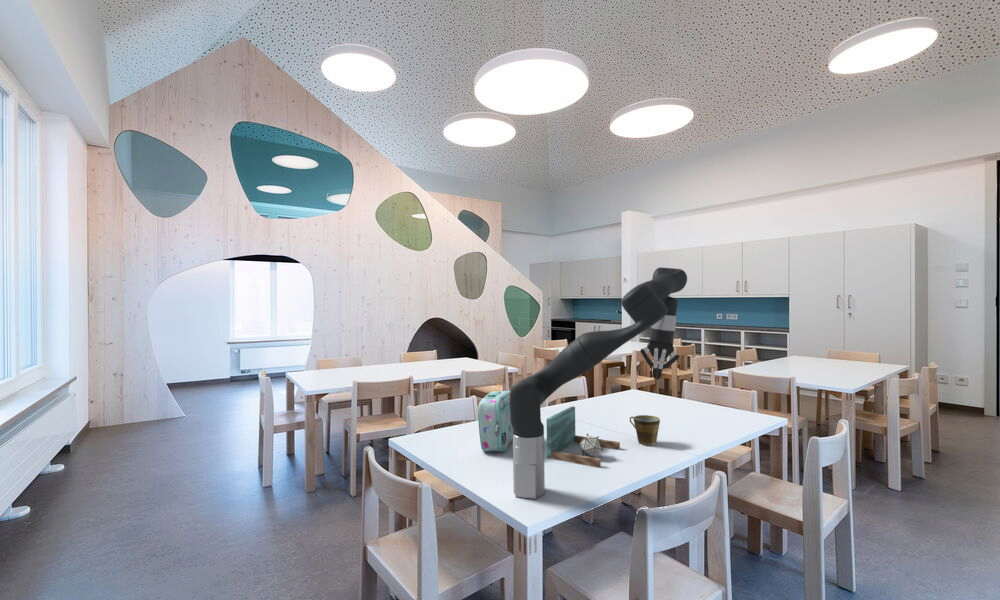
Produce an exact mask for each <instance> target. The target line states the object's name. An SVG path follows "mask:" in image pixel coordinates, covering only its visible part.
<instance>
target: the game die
mask: <svg viewBox="0 0 1000 600" xmlns="http://www.w3.org/2000/svg"><path fill="white" fill-rule="evenodd" d="M584 437H585V438H584V439H583V440H582V441H581V442H580V443H579V442H577V443H576V444H579V447H580V450H581V452H582V456H588V457H593V458H596V456H597V455H598V454H600V452H602V451H605V449H603V447H601V446H600V443H599V440H598V439H599V438H600V437H599V435H598V436H597V437H596V436H592V435H589V433H588V432H587V433H586V436H584Z"/></svg>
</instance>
